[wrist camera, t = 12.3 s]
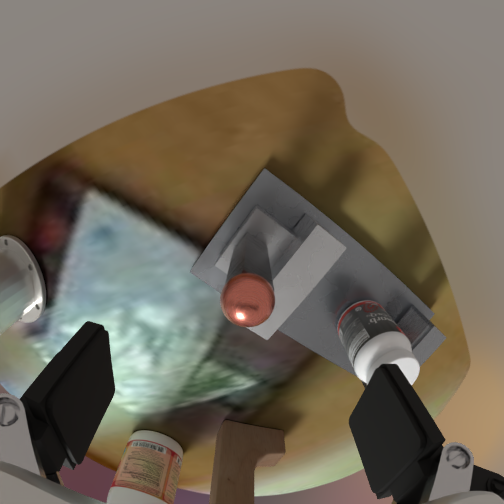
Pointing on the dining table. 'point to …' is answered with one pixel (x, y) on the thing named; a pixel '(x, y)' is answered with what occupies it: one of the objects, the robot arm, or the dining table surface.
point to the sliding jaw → (273, 269)
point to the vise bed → (326, 279)
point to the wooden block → (242, 460)
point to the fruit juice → (147, 470)
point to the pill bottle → (375, 341)
